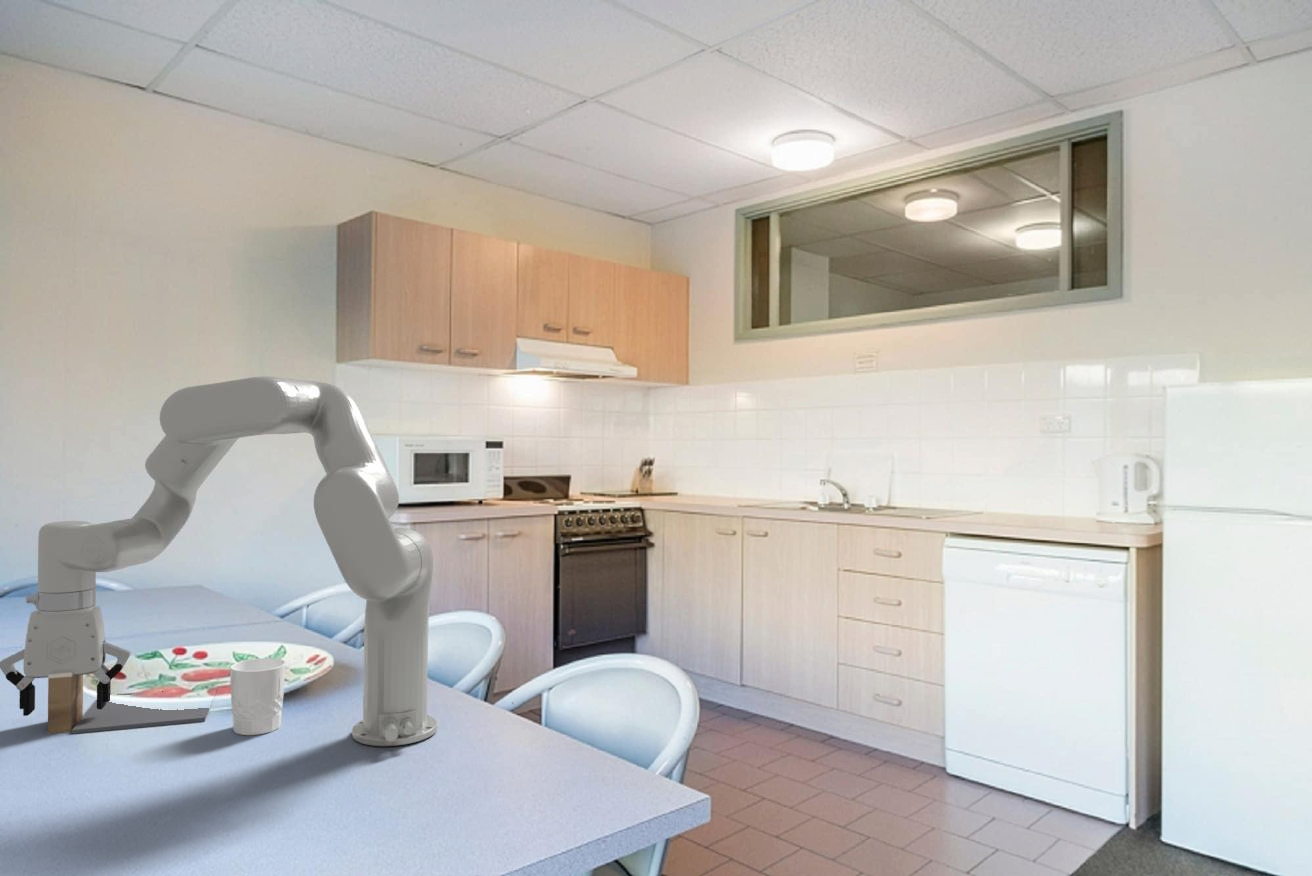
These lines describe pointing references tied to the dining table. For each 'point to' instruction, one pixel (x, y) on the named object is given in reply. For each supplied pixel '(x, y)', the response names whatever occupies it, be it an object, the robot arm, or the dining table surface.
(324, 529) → the robot arm
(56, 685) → the slab
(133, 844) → the dining table surface
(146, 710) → the mat
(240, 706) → the white cup
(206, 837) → the dining table surface
